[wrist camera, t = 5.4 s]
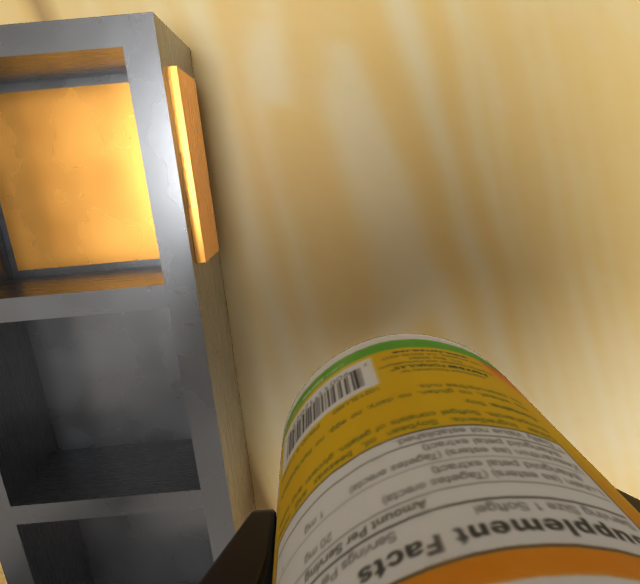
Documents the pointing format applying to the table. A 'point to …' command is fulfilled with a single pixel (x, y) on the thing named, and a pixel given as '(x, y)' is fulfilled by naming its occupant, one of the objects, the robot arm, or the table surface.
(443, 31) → the table surface
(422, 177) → the table surface
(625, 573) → the supplement bottle
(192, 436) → the compartment organizer tray
